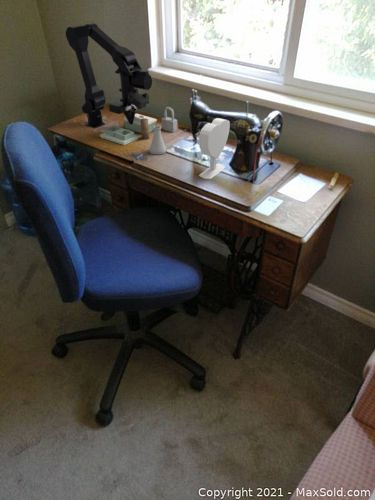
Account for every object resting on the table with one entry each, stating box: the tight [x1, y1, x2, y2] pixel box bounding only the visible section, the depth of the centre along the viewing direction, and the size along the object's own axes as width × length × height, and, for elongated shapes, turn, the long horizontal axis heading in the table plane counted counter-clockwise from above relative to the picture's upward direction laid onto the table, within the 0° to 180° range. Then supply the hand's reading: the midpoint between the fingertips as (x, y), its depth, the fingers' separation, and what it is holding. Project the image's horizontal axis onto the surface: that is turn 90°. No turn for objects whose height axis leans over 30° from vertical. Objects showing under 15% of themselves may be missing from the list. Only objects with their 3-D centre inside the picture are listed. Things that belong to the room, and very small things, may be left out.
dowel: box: [140, 118, 150, 141], centre depth 158 cm, size 3×3×8 cm
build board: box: [99, 125, 140, 146], centre depth 160 cm, size 14×9×3 cm, turn 53°
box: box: [123, 119, 158, 134], centre depth 168 cm, size 12×8×4 cm, turn 53°
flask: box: [148, 125, 168, 155], centre depth 147 cm, size 7×7×10 cm
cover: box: [123, 113, 158, 125], centre depth 166 cm, size 12×8×3 cm
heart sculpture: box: [198, 117, 231, 180], centre depth 132 cm, size 16×5×18 cm, turn 148°
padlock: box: [160, 106, 178, 133], centre depth 166 cm, size 7×4×10 cm, turn 51°
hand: (131, 124), depth 162 cm, fingers closed
